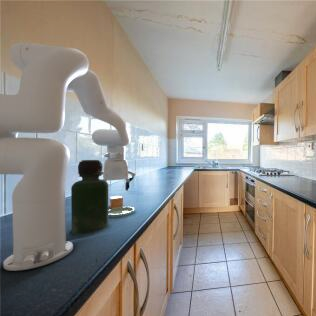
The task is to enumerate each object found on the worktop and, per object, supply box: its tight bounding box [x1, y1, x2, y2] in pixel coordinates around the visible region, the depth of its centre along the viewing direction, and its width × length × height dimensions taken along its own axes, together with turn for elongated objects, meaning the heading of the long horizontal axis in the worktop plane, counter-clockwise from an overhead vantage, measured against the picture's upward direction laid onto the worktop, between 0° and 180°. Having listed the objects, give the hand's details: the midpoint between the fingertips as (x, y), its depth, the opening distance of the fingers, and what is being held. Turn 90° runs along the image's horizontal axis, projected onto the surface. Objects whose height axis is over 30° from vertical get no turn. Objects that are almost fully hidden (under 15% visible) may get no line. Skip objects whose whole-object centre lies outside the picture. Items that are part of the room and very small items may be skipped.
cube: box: [109, 195, 124, 209], centre depth 92 cm, size 5×5×5 cm
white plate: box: [108, 206, 135, 218], centre depth 83 cm, size 11×11×2 cm
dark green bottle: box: [70, 159, 109, 235], centre depth 66 cm, size 10×10×25 cm
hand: (115, 191), depth 91 cm, fingers open, 9 cm apart
